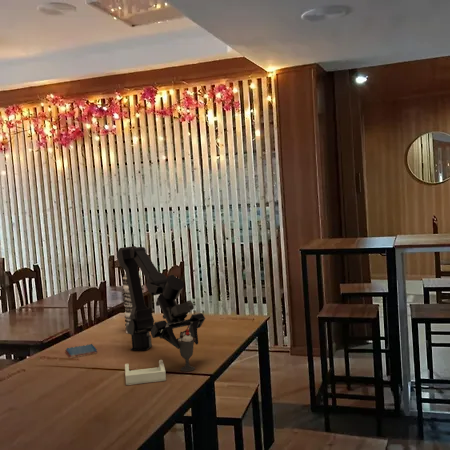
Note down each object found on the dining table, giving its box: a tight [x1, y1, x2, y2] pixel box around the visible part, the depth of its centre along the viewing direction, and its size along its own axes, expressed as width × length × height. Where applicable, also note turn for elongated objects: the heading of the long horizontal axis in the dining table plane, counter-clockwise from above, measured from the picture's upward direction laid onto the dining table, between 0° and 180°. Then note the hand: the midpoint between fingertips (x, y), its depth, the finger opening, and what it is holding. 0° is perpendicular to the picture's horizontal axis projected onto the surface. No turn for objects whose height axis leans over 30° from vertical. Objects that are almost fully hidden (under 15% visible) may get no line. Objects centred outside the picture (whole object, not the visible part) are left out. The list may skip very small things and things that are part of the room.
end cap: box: [124, 359, 167, 386], centre depth 184 cm, size 12×12×3 cm
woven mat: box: [64, 343, 98, 359], centre depth 216 cm, size 10×11×2 cm
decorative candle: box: [121, 273, 145, 335], centre depth 243 cm, size 9×9×25 cm
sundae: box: [176, 325, 196, 372], centre depth 189 cm, size 7×7×15 cm
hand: (188, 346), depth 188 cm, fingers closed on sundae, 7 cm apart
